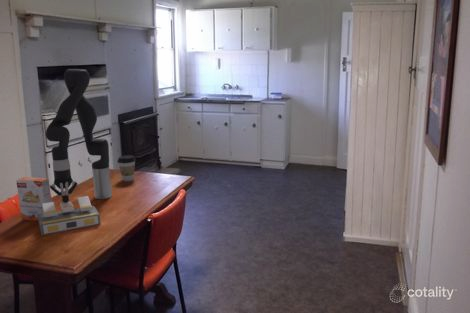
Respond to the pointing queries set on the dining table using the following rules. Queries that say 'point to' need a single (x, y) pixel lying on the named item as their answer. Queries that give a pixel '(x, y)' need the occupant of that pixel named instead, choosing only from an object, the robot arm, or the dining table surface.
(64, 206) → the rocker mid
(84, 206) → the rocker right
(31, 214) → the cracker box
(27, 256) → the dining table surface
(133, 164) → the coffee cup
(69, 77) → the robot arm
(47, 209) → the rocker left
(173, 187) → the dining table surface
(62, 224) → the switch unit
